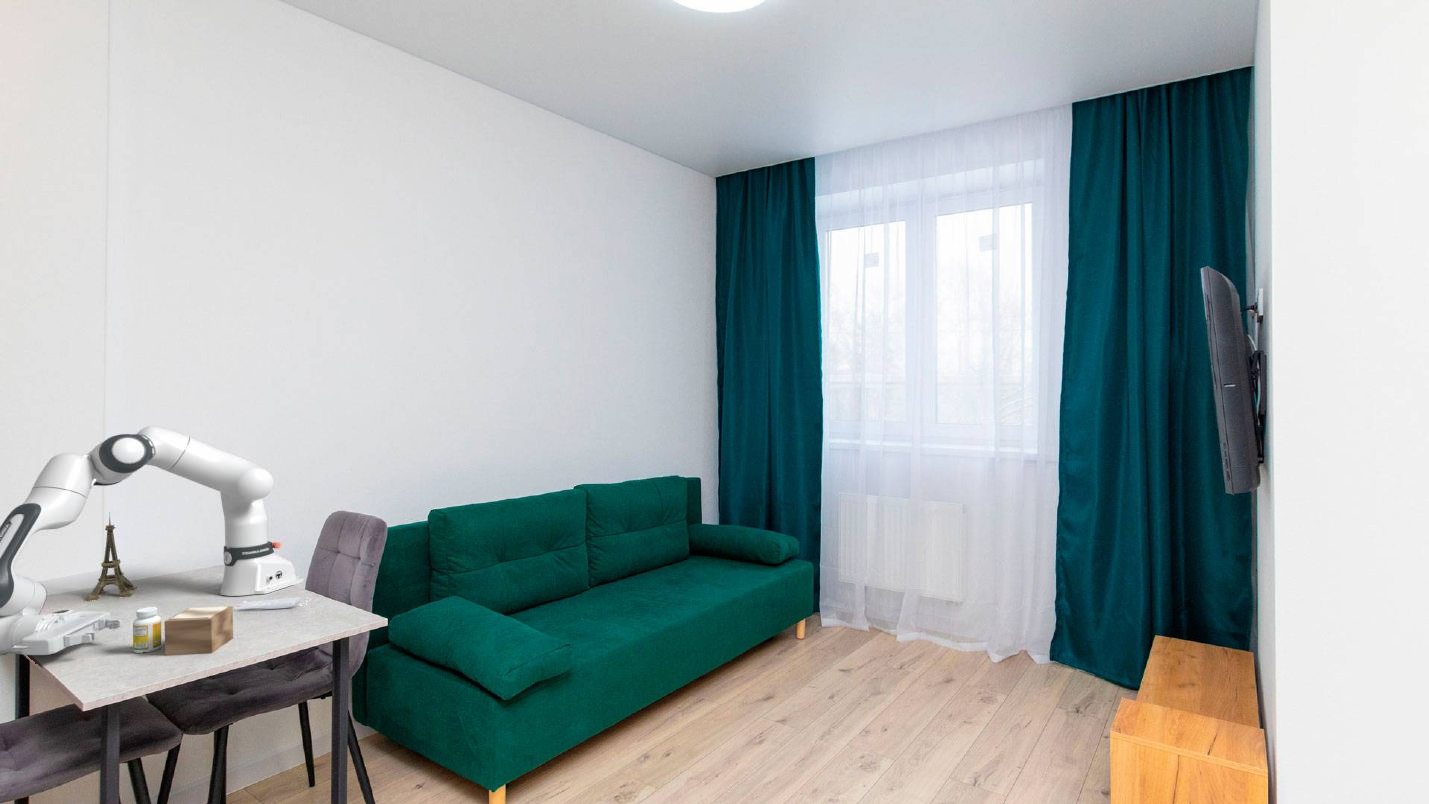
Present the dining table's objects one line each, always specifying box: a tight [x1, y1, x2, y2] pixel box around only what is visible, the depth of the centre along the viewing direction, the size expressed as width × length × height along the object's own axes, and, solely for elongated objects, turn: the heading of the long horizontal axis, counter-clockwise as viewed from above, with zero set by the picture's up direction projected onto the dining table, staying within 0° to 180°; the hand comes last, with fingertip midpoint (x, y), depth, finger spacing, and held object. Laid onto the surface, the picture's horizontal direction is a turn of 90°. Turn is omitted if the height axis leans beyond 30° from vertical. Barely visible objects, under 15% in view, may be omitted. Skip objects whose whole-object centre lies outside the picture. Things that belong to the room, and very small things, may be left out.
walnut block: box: [163, 605, 234, 656], centre depth 177 cm, size 10×10×8 cm
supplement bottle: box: [132, 606, 162, 654], centre depth 175 cm, size 5×5×10 cm
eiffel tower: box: [84, 511, 138, 602], centre depth 220 cm, size 11×11×25 cm
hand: (106, 630), depth 174 cm, fingers open, 8 cm apart
